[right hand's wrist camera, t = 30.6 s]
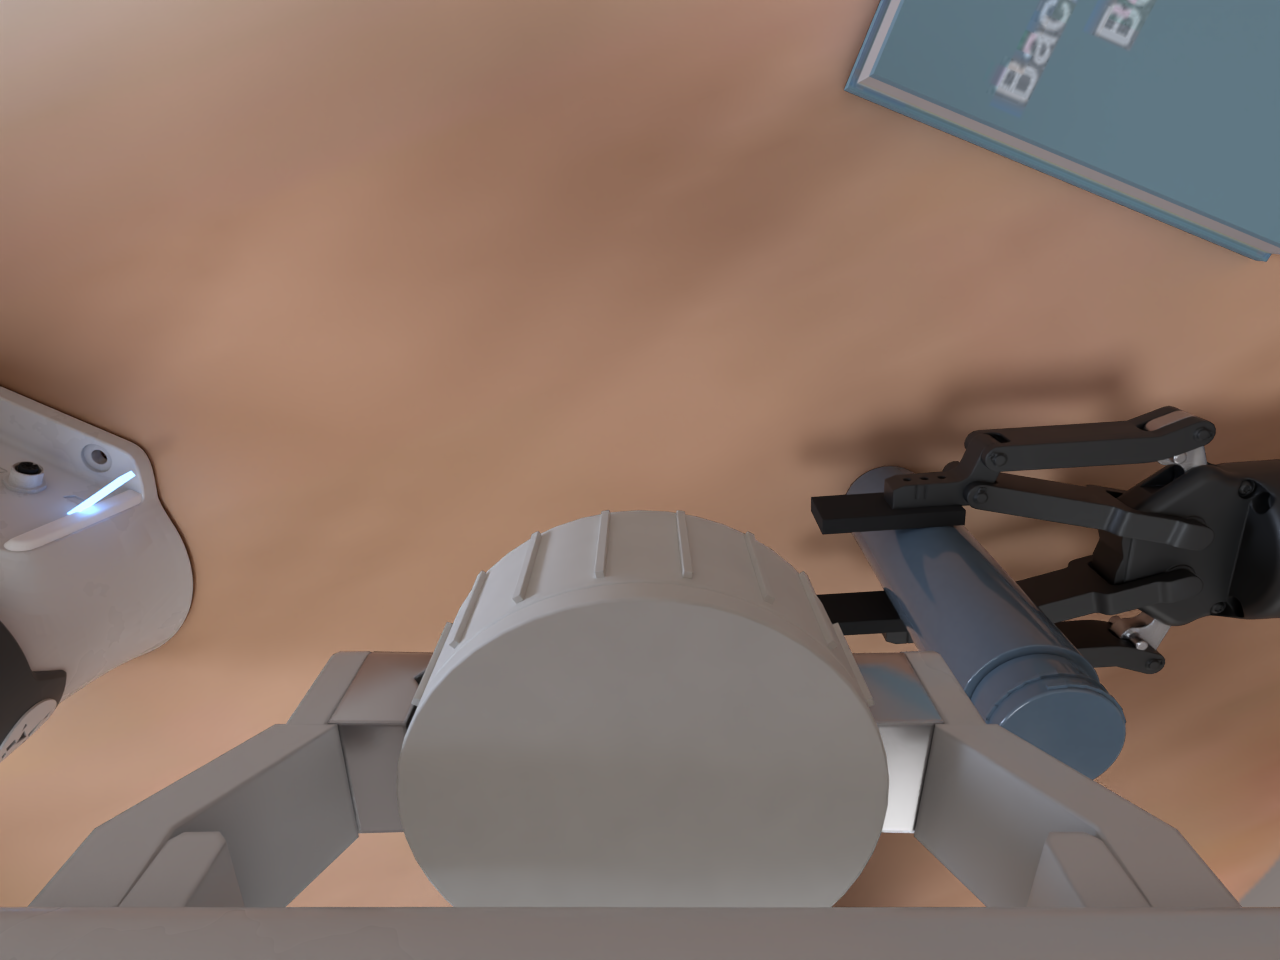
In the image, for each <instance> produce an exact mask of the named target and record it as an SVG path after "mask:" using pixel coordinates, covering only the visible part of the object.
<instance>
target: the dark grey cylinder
mask: <svg viewBox="0 0 1280 960" xmlns="http://www.w3.org/2000/svg"><path fill="white" fill-rule="evenodd" d="M901 474H915V473H913V472H912V471H910V470H907V469H905V468H901V467H896V466H886V467H880V468H876V469H873V470H871V471H869V472H867V473H865V474H863V475H862V476H861V477H859V478H858V479H857V480H856V481H855V482H854V483H853V484H852V486H851V487H850V488H849V490H848V492H847V494H846V495H850V494H865V493H879V492H884V482H885V479H887V478H889V477H892V476H894V475H901ZM852 535H853V536H854V538H855V540H856V542H857V543H858V545H859V547H860V549H861V550H862V552H863V554H864V556H865V557H866V559H867V561H868V563H869V564H870V566H871V568H872V570H873V571H874V573H875V575H876V577H877V578H878V580H879V582H880V584H881V586H882V587H883V589H884V591H885V593H886V594H887V596H888V598H889V600H890V601H891V603H892V605H893V607H894V608H895V610H896V612H897V614H898V615H899V617H900V619H901V621H902V622H903V624H904V626H905V628H906V629H907V631H908V633H909V635H910V637H911V638H912V640H913V642H914V644H915V645H916V647H917V649H918V651H935V652H937V653H939V654H940V655H941V656H942V658H943V659H944V661H945V662H946V664H947V665H948V667H949V668H950V670H951V671H952V673H953V675H954V676H955V678H956V679H957V681H958V682H959V684H960V685H961V687H962V688H963V690H964V691H965V693H966V694H967V696H968V697H969V699H970V700H971V702H972V703H973V705H974V706H975V708H976V709H977V711H978V712H979V714H980V715H981V717H982V718H983V720H984V721H985V723H986V724H998V725H999V726H1001V727H1003V728H1004V729H1006V730H1008V731H1010V732H1011V733H1013V734H1015V735H1016V736H1018V737H1020V738H1021V739H1023V740H1025V741H1027V742H1028V743H1030V744H1032V745H1033V746H1035V747H1037V748H1039V749H1040V750H1042V751H1044V752H1045V753H1047V754H1049V755H1051V756H1052V757H1054V758H1056V759H1057V760H1059V761H1061V762H1063V763H1064V764H1066V765H1068V766H1069V767H1071V768H1073V769H1074V770H1076V771H1078V772H1080V773H1081V774H1083V775H1085V776H1086V777H1088V778H1090V779H1092V780H1093V779H1095V778H1097V777H1098V776H1099V775H1101V774H1102V773H1103V772H1105V771H1106V770H1107V769H1108V768H1109V767H1110V766H1111V765H1112V764H1113V762H1114V761H1115V760H1116V758H1117V757H1118V755H1119V754H1120V752H1121V750H1122V748H1123V744H1124V741H1125V735H1126V731H1125V723H1126V720H1125V717H1124V714H1123V711H1122V710H1123V709H1122V708H1121V706H1120V705H1119V704H1118V703H1117V701H1116V700H1115V699H1114V697H1113V696H1112V695H1110V694H1109V693H1108V692H1107V690H1106V689H1105V688H1104V686H1103V685H1102V684H1100V682H1099V678H1098V675H1097V673H1096V671H1095V669H1094V668H1093V666H1092V665H1091V664H1090V663H1089V662H1088V661H1087V659H1086V658H1085V657H1084V656H1083V655H1082V654H1081V653H1080V652H1079V651H1078V650H1077V649H1076V647H1075V646H1074V645H1073V644H1072V643H1071V642H1070V641H1069V640H1068V639H1067V638H1066V637H1065V635H1064V634H1063V633H1062V632H1061V631H1060V630H1059V629H1058V628H1057V627H1056V626H1055V625H1054V623H1053V622H1052V621H1051V620H1050V619H1049V618H1048V617H1047V616H1046V615H1045V614H1044V613H1043V612H1042V610H1041V609H1040V608H1039V607H1038V606H1037V605H1036V604H1035V603H1034V602H1033V601H1032V600H1031V598H1030V597H1029V596H1028V595H1027V594H1026V593H1025V592H1024V591H1023V590H1022V589H1021V588H1020V586H1019V585H1018V584H1017V583H1016V582H1015V581H1014V580H1013V579H1012V578H1011V577H1010V576H1009V575H1008V573H1007V572H1006V571H1005V570H1004V569H1003V568H1002V567H1001V566H1000V565H999V564H998V563H997V561H996V560H995V559H994V558H993V557H992V556H991V555H990V554H989V553H988V552H987V551H986V549H985V548H984V547H983V546H982V545H981V544H980V543H979V542H978V541H977V540H976V539H975V537H974V536H973V535H972V534H971V533H970V532H969V531H968V530H967V529H966V528H965V527H964V526H963V525H960V526H944V527H929V528H914V529H898V530H883V531H867V532H852Z"/></svg>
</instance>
